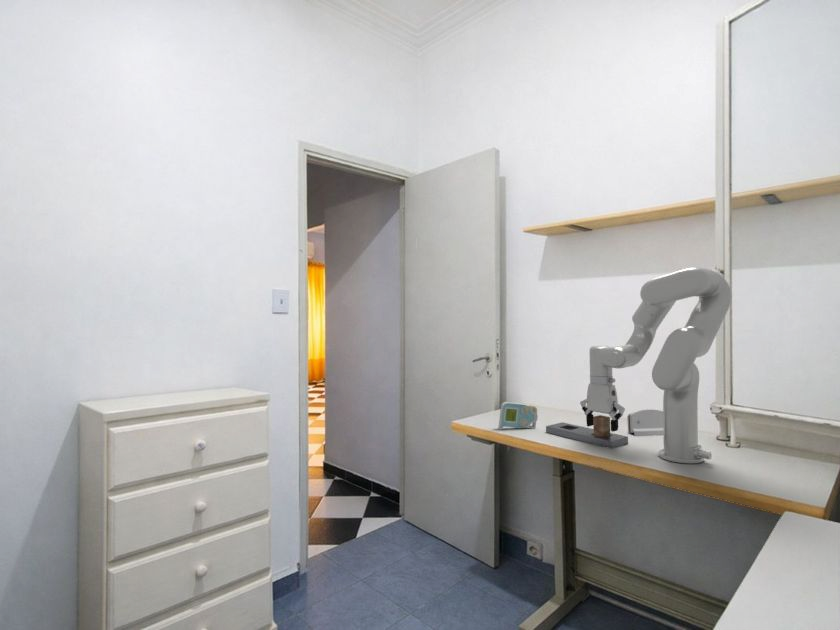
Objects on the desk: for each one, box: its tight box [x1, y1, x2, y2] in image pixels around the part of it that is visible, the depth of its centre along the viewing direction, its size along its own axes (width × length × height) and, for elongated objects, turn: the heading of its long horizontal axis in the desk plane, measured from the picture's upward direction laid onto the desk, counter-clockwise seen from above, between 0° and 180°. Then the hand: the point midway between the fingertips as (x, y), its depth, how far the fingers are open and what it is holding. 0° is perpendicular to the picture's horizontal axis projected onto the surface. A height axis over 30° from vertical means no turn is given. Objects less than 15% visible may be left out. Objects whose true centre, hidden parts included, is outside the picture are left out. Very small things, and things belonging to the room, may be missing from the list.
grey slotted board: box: [545, 422, 629, 450], centre depth 174 cm, size 28×10×2 cm, turn 35°
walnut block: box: [593, 414, 611, 438], centre depth 168 cm, size 4×4×9 cm
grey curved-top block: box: [626, 409, 664, 437], centre depth 180 cm, size 17×5×10 cm, turn 94°
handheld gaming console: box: [497, 401, 539, 430], centre depth 190 cm, size 11×3×15 cm
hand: (602, 428), depth 168 cm, fingers open, 9 cm apart
